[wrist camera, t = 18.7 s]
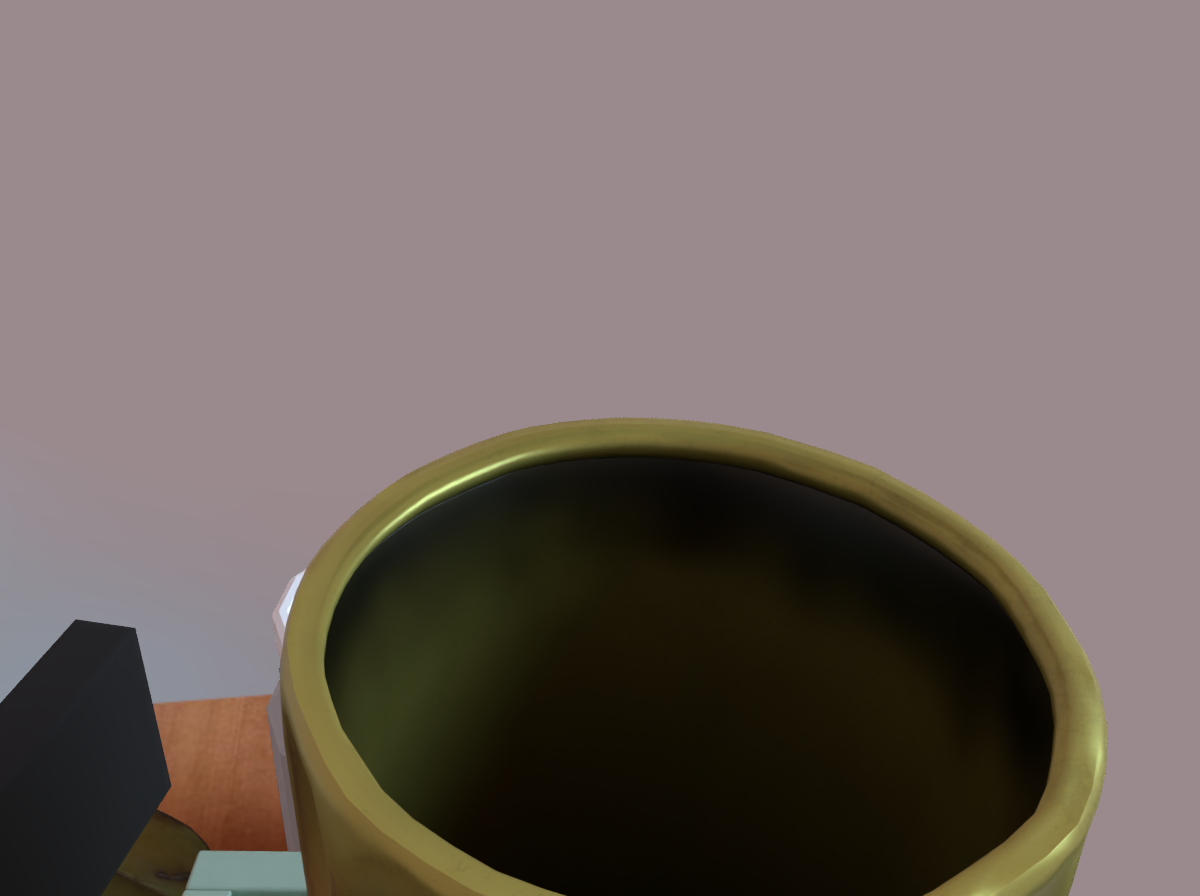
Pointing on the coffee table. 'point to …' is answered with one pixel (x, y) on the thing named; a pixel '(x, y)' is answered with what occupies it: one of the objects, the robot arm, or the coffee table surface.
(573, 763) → the vase
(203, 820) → the coffee table surface
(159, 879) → the fruit
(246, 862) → the tray
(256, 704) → the coffee table surface
